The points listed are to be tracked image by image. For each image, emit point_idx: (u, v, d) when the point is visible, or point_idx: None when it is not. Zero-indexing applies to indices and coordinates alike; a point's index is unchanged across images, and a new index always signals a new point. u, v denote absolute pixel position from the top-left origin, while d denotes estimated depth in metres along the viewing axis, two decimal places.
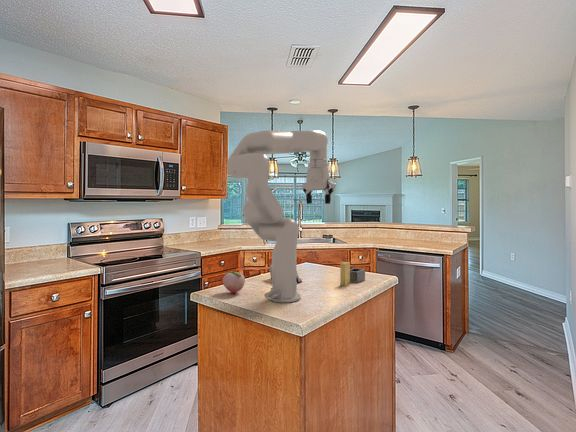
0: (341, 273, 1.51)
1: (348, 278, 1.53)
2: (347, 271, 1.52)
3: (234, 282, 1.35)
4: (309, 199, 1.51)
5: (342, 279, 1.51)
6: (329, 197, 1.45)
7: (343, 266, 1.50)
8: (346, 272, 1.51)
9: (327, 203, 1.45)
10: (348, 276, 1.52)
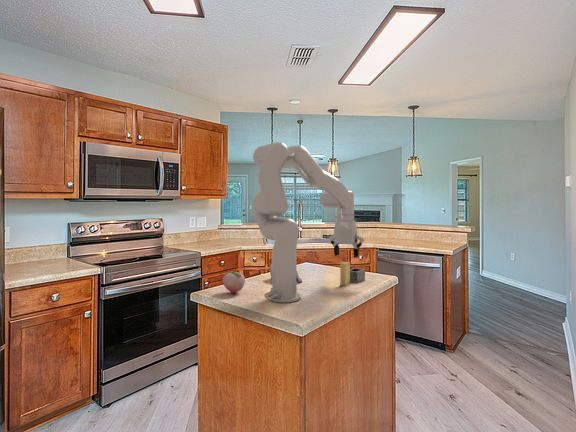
0: (341, 273, 1.51)
1: (348, 278, 1.53)
2: (347, 271, 1.52)
3: (234, 282, 1.35)
4: (337, 251, 1.55)
5: (342, 279, 1.51)
6: (357, 251, 1.49)
7: (343, 266, 1.50)
8: (346, 272, 1.51)
9: None
10: (348, 276, 1.52)
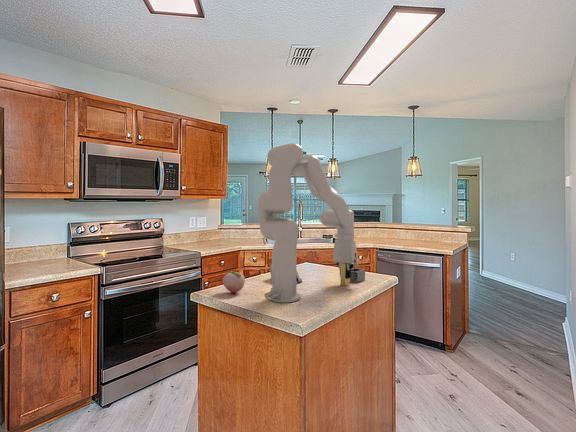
0: (341, 273, 1.51)
1: None
2: None
3: (234, 282, 1.35)
4: None
5: (342, 279, 1.51)
6: (350, 272, 1.51)
7: (343, 266, 1.50)
8: None
9: (348, 278, 1.51)
10: None
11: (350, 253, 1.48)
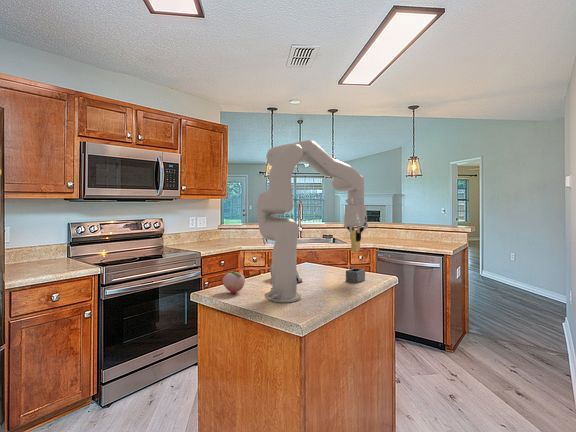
0: (352, 240, 1.58)
1: (358, 244, 1.60)
2: None
3: (234, 282, 1.35)
4: None
5: (353, 245, 1.58)
6: (360, 235, 1.58)
7: (353, 233, 1.57)
8: None
9: None
10: (358, 242, 1.60)
11: (360, 216, 1.54)
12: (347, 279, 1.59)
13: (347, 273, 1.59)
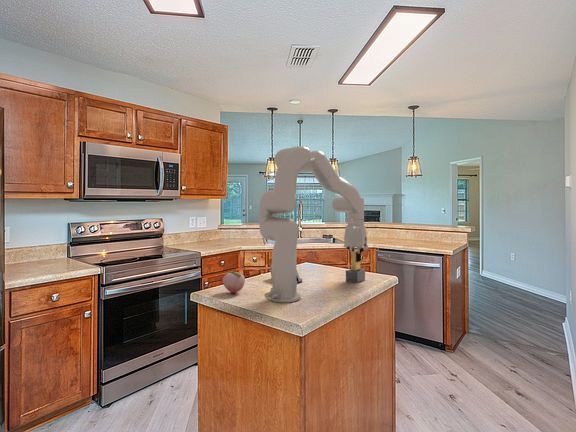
0: (352, 261, 1.59)
1: (359, 265, 1.60)
2: None
3: (234, 282, 1.35)
4: None
5: (353, 266, 1.59)
6: (360, 256, 1.59)
7: (354, 254, 1.58)
8: None
9: (358, 261, 1.59)
10: (358, 263, 1.60)
11: (361, 237, 1.55)
12: (347, 279, 1.59)
13: (347, 273, 1.59)
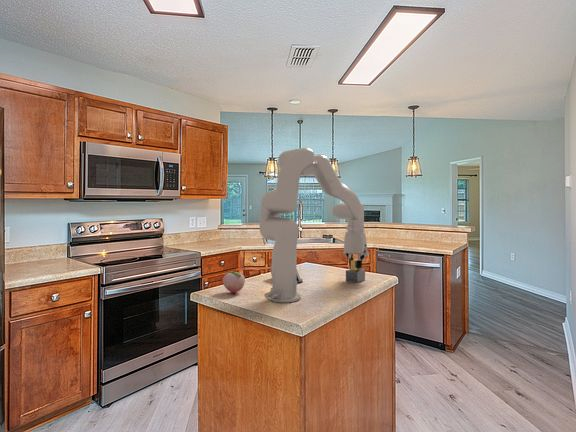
0: (351, 270, 1.59)
1: None
2: None
3: (234, 282, 1.35)
4: None
5: None
6: (361, 263, 1.58)
7: (353, 263, 1.58)
8: (356, 269, 1.59)
9: (359, 268, 1.58)
10: None
11: (360, 244, 1.55)
12: (347, 279, 1.59)
13: (347, 273, 1.59)
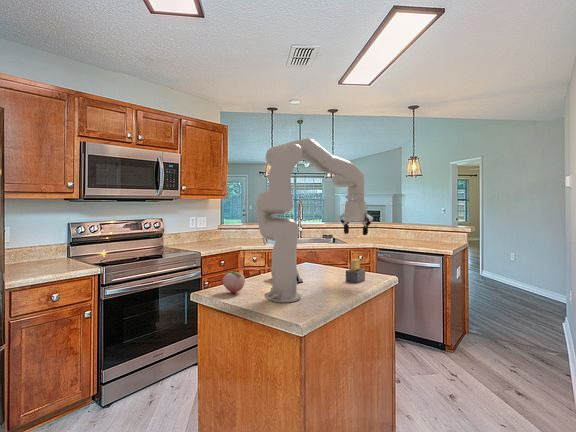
0: (351, 269, 1.59)
1: None
2: (357, 267, 1.59)
3: (234, 282, 1.35)
4: (346, 229, 1.62)
5: None
6: (367, 229, 1.56)
7: (353, 263, 1.58)
8: (356, 268, 1.59)
9: (365, 234, 1.56)
10: None
11: (360, 212, 1.54)
12: (347, 279, 1.59)
13: (347, 273, 1.59)
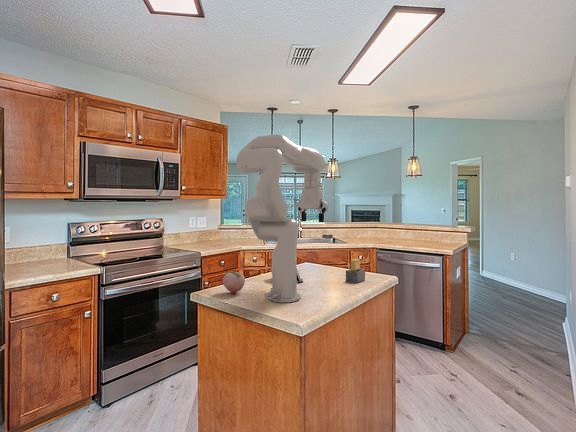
0: (351, 269, 1.59)
1: None
2: (357, 267, 1.59)
3: (234, 282, 1.35)
4: (304, 217, 1.59)
5: None
6: (322, 216, 1.53)
7: (353, 263, 1.58)
8: (356, 268, 1.59)
9: (320, 221, 1.53)
10: None
11: (316, 198, 1.51)
12: (347, 279, 1.59)
13: (347, 273, 1.59)
